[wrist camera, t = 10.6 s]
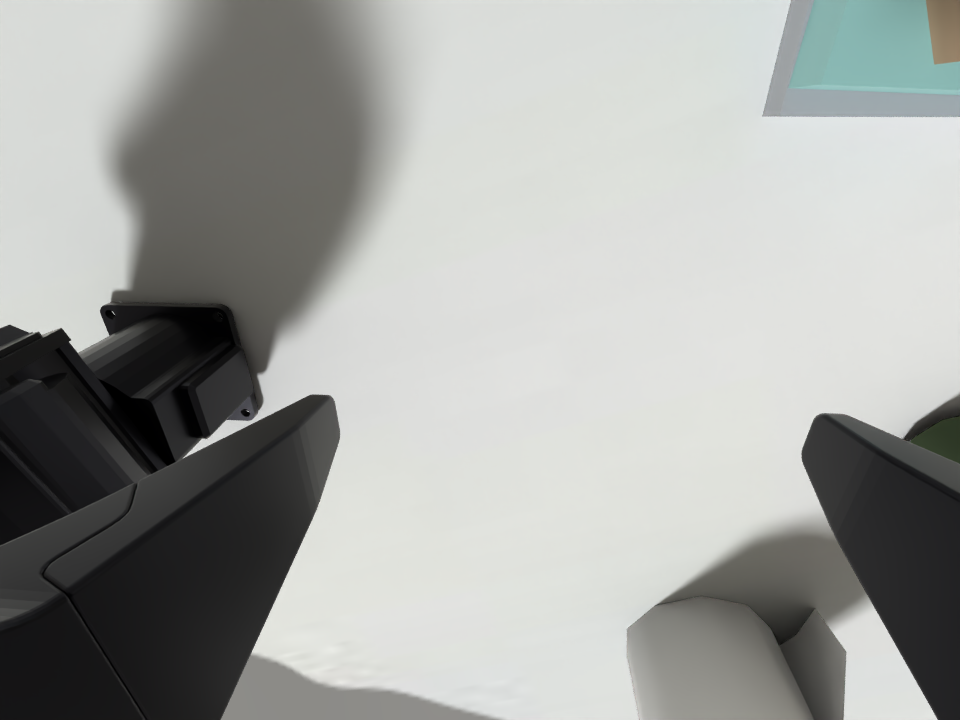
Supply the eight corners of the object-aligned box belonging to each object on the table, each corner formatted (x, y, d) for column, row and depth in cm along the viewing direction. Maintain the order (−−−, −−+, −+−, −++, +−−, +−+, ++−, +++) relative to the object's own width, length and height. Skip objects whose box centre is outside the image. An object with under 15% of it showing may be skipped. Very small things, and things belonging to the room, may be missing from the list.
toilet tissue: (849, 599, 29) (966, 773, 21) (701, 696, 35) (751, 859, 27) (732, 540, 27) (811, 704, 20) (598, 652, 33) (620, 811, 26)
